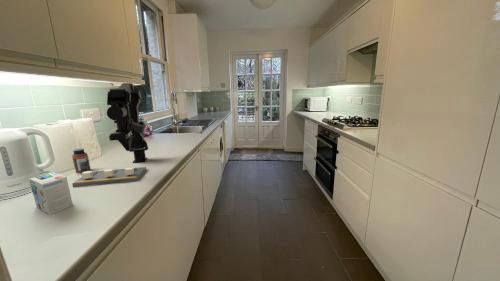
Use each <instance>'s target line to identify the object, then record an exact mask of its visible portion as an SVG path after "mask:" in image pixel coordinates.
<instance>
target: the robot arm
mask: <svg viewBox="0 0 500 281" xmlns="http://www.w3.org/2000/svg"><path fill="white" fill-rule="evenodd" d="M141 99H142V94H141V92H140V89H139V88H138V87H136V86H135V85H134V84H133V83H132V82H131V83H130V82H128V83H127V82H123V83H121V84H120V86H118V87H117V88H109V89H108V91H107V100H106V105H107V106H109V107H108V108H107V110H106V115H107V117H108V119H110V120H112V121H113V123H114V124H116V129H115V131H114V132H112V133H110V134H109V135H108V138H109V141H118V142H119V144H120V145H122V147H123V148H124V149H125V151H127V152H129V153H132V152H133V158H134V160H132V163H144V162H146V161H147V160H148V159H149V158H148V157H146V151H148V150H149V146H148V142H147V141H146V139H145V137H144V135H143V134H144V132H145V130H146V128H147V125H146V124H145V122H144V121H142V120H140V116H139V114H140V113H139V105H141Z"/></svg>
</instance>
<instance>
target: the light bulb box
mask: <svg viewBox="0 0 500 281" xmlns="http://www.w3.org/2000/svg"><path fill="white" fill-rule="evenodd" d="M28 182H29V184H30V187H31V191H32V195H33V197H34V202H35V206H36V208H38V209H39V210H41V211H43V212H44V213H45V214H47V215H52V214H55V213H58V212H59V211H63V210H65V209H67V208H70V207H72V206H74V204H73V203H74V202H73V199H72V195H71V190H70V187H69V183H68V182H69V181H68V178H67V176H65V175H62V174H59V173H57V172H54V171H53V172H49V173H48V172H47V173H45V174H41V175H38V176H34V177H30V178H29V179H28Z"/></svg>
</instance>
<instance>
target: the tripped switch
mask: <svg viewBox="0 0 500 281" xmlns="http://www.w3.org/2000/svg"><path fill="white" fill-rule="evenodd" d="M134 168H135V167H126V169H125V175H133V174H134Z"/></svg>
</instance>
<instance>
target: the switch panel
mask: <svg viewBox="0 0 500 281" xmlns="http://www.w3.org/2000/svg"><path fill="white" fill-rule="evenodd" d="M126 168H127V167H126ZM126 168H125V167H122V168H112V169H113V172H114V175H113V176H111V177H104V171H105V170H106V169H100V170H99V169H98V170H91V171H92V174H93V177H92V178H88V179H83V177H82V176H81V177H79V178H78V179H76V180H75V181H73V182H72V184H71V185H72V187H73V188H74V187H76V188H77V187H87V186H94V185H95V186H96V185H107V184H116V183H117V184H118V183H129V182H130V183H131V182H137V181H138V180H140V178H141V177H142V176H143V175H144V173H145V172H146V171H147V167H146V166H137V167H133V168H134V174H133V175H125V169H126Z"/></svg>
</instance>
